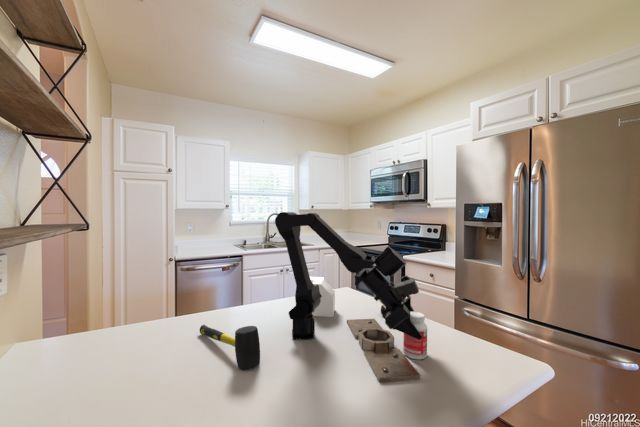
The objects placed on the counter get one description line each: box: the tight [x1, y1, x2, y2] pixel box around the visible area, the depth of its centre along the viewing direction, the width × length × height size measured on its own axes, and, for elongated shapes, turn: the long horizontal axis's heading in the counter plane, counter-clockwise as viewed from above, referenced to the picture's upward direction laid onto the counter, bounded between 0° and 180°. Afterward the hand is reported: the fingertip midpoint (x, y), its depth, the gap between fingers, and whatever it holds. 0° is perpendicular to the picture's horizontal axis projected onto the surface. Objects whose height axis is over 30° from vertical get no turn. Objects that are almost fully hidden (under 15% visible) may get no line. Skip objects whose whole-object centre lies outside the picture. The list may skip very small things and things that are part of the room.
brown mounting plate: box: [346, 318, 421, 383], centre depth 80 cm, size 34×10×3 cm, turn 7°
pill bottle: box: [402, 310, 428, 360], centre depth 75 cm, size 6×6×11 cm
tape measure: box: [380, 304, 387, 317], centre depth 102 cm, size 7×7×4 cm
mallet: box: [199, 324, 261, 371], centre depth 77 cm, size 29×6×10 cm, turn 47°
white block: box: [310, 276, 336, 318], centre depth 107 cm, size 11×11×12 cm
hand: (420, 331), depth 74 cm, fingers open, 9 cm apart
